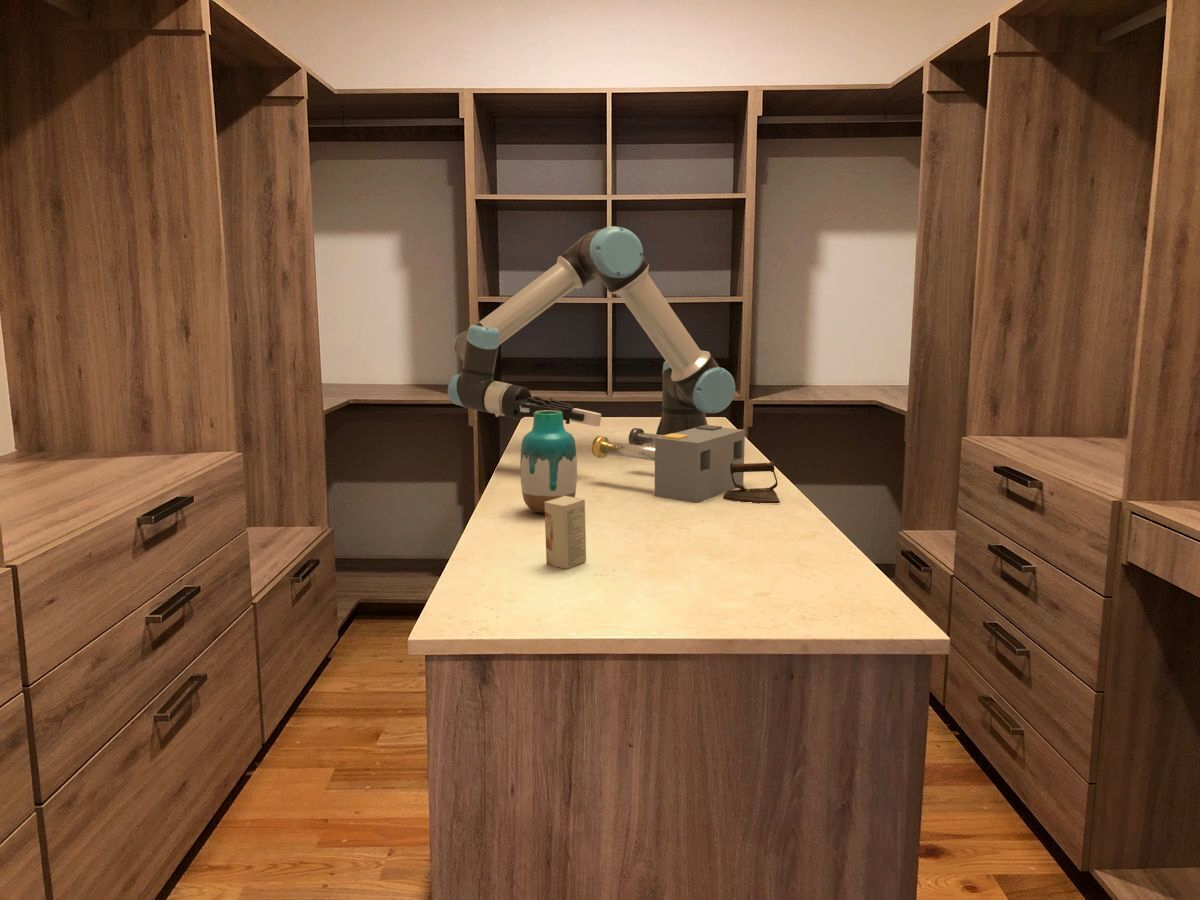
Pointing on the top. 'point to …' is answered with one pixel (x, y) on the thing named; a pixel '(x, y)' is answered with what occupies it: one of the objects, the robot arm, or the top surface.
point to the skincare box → (565, 531)
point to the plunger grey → (642, 437)
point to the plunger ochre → (621, 449)
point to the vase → (547, 461)
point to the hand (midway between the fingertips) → (598, 420)
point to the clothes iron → (756, 493)
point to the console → (698, 462)
